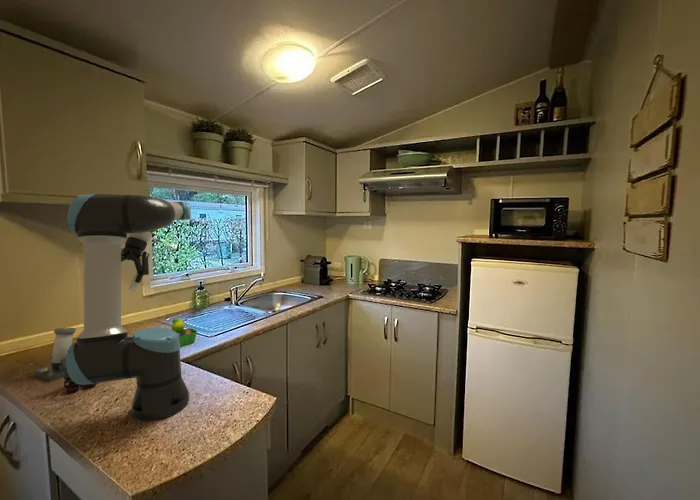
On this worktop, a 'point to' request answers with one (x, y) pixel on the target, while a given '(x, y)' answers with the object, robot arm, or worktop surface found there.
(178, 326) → the fruit basket
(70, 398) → the worktop surface
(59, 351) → the grey lidded cylinder
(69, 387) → the binoculars
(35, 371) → the tribrach base
